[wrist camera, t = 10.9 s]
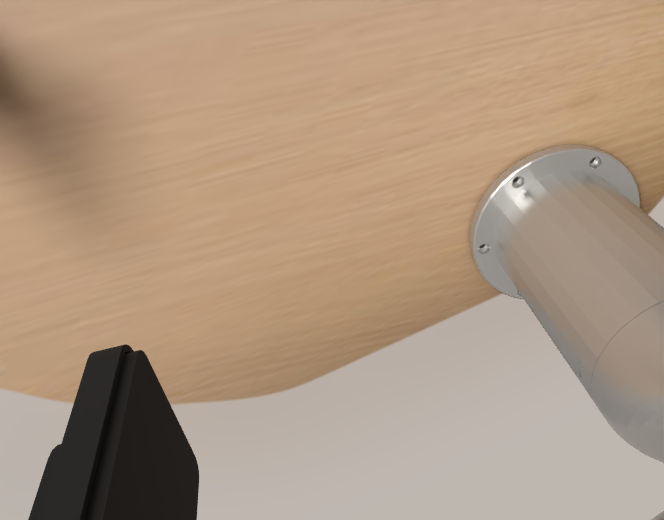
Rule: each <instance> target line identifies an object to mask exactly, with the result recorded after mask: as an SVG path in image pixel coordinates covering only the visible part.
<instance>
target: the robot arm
mask: <svg viewBox="0 0 664 520" xmlns="http://www.w3.org/2000/svg"><path fill="white" fill-rule="evenodd" d="M514 178H515V179H514ZM470 248H471V254H472V257H473V260H474V262H475V264H476V267H477V268H478V270H479V271H480V273H481V274H482V276H483V278H484V279H485V280H486V281H487V282H488V283H489V284H490V285H491V286H492V287H493V288H495V289H497V290H498V291H500V292H501V293H503V294H506V295H508V296H511V297H514V298H519V299H524V300H525V301H526V303H527V304H528V306H529V307H530V309H531V310H532V312H533V313H534V314H535V316H536V317H537V319H538V320H539V322H540V323H541V325H542V326H543V328H544V329H545V331H546V332H547V333H548V335H549V336H550V338H551V339H552V341H553V342H554V344H555V345H556V347H557V348H558V350H559V351H560V353H561V354H562V355H563V357H564V358H565V360H566V361H567V363H568V364H569V366H570V367H571V368H572V370H573V372H574V373H575V375H576V376H577V377H578V379H579V380H580V382H581V383H582V385H583V386H584V387H585V389H586V391H587V392H588V394H589V395H590V397H591V398H592V399H593V401H594V402H595V404H596V406H597V407H598V409H599V410H600V412H601V413H602V414H603V416H604V417H605V419H606V420H607V422H608V423H609V424H610V426H611V427H612V428H613V429H614V431H615V432H616V433H617V434H618V435H619V436H620V437H622V438H623V439H624V440H625V441H626V442H627V443H629V444H630V445H631V446H633V447H635V448H636V449H638V450H639V451H640V452H642V453H644V454H646V455H648V456H650V457H652V458H654V459H656V460H659V461H661V462H663V463H664V228H663V227H662V226H660V225H659V224H658V223H657V222H656V221H654V220H653V219H652V218H651V217H650V216H648V215H647V214H646V213H645V212H644V211H642V210H641V209H640V196H639V191H638V186H637V184H636V182H635V180H634V178H633V176H632V174H631V172H630V171H629V170H628V169H627V168H626V167H625V166H624V164H623V163H621V162H620V161H619V160H617V159H616V158H615V157H613V156H612V155H611V154H609V153H607V152H605V151H603V150H601V149H599V148H594V147H590V146H586V145H562V146H556V147H550V148H547V149H544V150H542V151H539V152H536V153H533V154H531V155H530V156H528V157H526V158H524V159H522V160H520V161H518V162H517V163H516V164H514V165H513V166H512V167H510V168H509V169H508V170H506V171H505V172H504V173H503V174H502V175H501V176H500V177H499V178H498V179H497V180H496V181H495V182H494V183H493V184H492V185H491V186H490V188H489V189H488V190H487V192H486V193H485V195H484V196H483V197H482V199H481V201H480V203H479V205H478V207H477V209H476V211H475V213H474V217H473V221H472V224H471V228H470ZM198 487H199V470H198V464H197V460H196V457H195V455H194V454H193V451H192V449H191V447H190V445H189V443H188V441H187V439H186V436H185V435H184V433H183V430H182V428H181V426H180V424H179V422H178V420H177V418H176V416H175V414H174V412H173V410H172V408H171V406H170V403H169V401H168V399H167V397H166V395H165V393H164V391H163V389H162V387H161V385H160V383H159V381H158V379H157V377H156V375H155V373H154V371H153V369H152V366H151V364H150V362H149V360H148V358H147V356H146V355H145V353H144V352H143V351H141V350H139V351H135V352H134V351H133V350H132V348H131V347H130V346H129V345H121V346H117V347H113V348H109V349H105V350H101V351H96V352H93V353H91V354H90V355H89V358H88V360H87V363H86V366H85V370H84V373H83V376H82V379H81V383H80V386H79V389H78V392H77V396H76V399H75V402H74V405H73V408H72V412H71V415H70V418H69V422H68V425H67V428H66V431H65V434H64V438H63V442H62V444H60V445H57V446H56V447H55V448H54V449H53V450H52V452H51V454H50V456H49V458H48V461H47V464H46V467H45V470H44V473H43V476H42V479H41V482H40V486H39V489H38V492H37V495H36V498H35V501H34V504H33V507H32V510H31V513H30V517H29V519H28V520H196V518H197V503H198ZM652 520H664V511H663V512H662V513H660V514H659V515H658V516H656V517H655V518H653V519H652Z"/></svg>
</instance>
